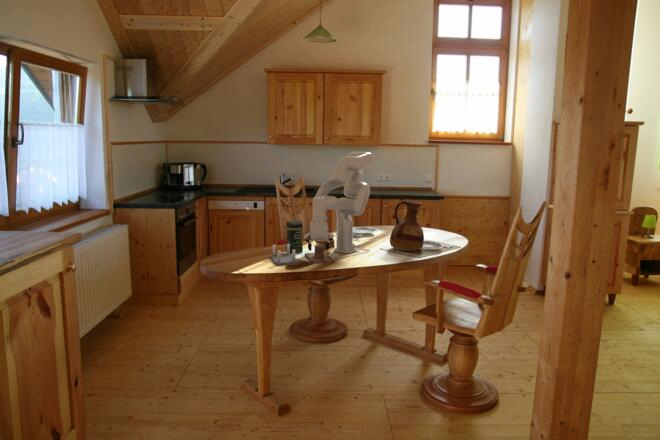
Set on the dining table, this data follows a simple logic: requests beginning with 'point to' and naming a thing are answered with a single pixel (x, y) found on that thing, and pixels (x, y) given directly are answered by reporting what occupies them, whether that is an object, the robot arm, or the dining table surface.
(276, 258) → the peg stand
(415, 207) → the ceramic pitcher
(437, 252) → the dining table surface
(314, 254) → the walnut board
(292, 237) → the coffee jar
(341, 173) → the robot arm
